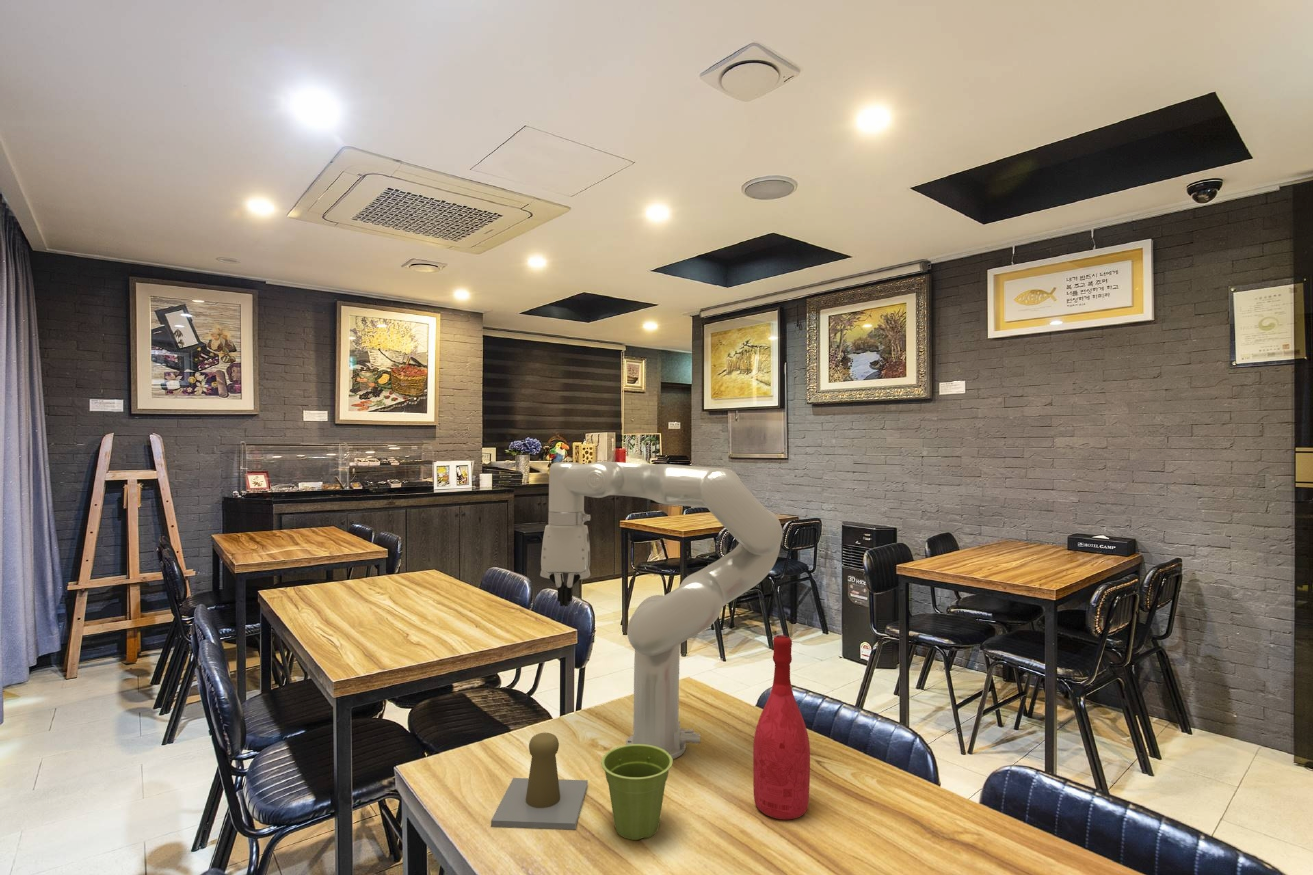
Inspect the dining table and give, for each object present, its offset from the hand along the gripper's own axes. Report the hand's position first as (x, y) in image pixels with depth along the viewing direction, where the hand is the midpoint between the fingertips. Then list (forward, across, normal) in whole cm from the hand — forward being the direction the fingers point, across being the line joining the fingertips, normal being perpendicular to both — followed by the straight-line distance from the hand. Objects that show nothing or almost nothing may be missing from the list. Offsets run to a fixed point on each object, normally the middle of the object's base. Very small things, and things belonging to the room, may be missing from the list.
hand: (564, 604), depth 139 cm
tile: (+29, -1, +25) cm, 38 cm away
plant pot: (+29, -18, +31) cm, 46 cm away
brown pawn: (+28, -1, +25) cm, 38 cm away
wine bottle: (+29, -43, +23) cm, 57 cm away
